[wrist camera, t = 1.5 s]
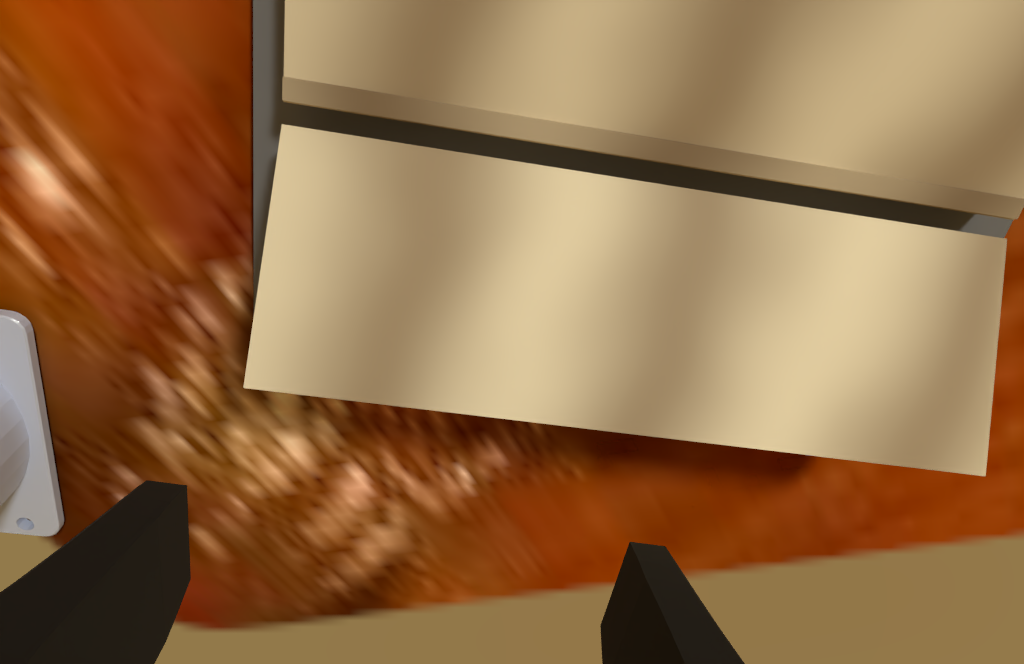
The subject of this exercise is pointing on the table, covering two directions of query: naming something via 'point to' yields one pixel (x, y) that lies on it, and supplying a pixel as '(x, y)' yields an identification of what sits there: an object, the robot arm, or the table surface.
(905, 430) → the board
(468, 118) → the fixed plank
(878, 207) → the underlay mat
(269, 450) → the table surface
